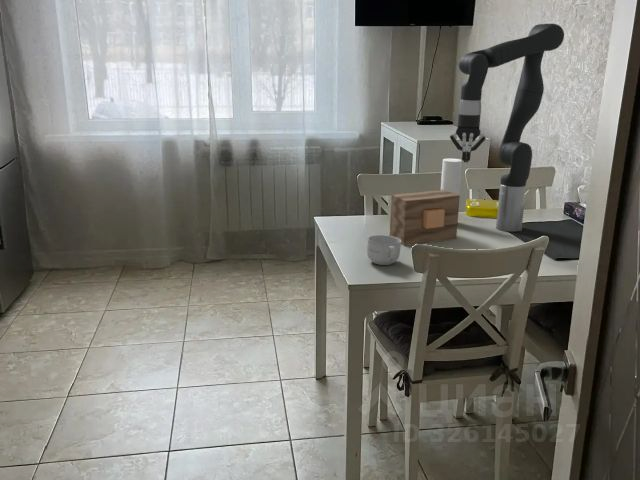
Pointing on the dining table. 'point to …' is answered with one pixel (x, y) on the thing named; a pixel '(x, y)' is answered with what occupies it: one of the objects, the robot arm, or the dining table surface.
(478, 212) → the element tile
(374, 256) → the teacup
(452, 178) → the cylindrical container
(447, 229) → the wooden box
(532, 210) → the dining table surface
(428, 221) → the light brown block
